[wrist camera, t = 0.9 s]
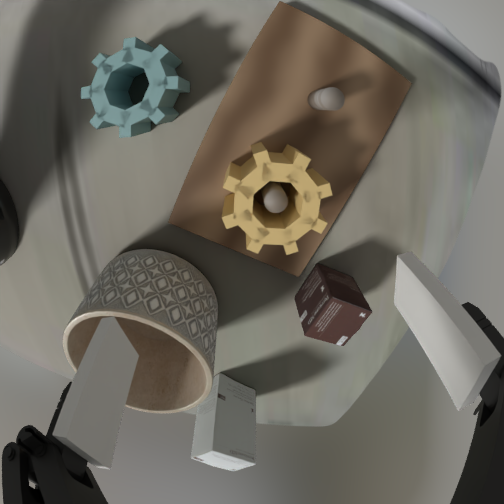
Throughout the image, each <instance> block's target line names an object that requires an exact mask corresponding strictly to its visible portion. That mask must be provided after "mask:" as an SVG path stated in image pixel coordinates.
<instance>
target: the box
mask: <svg viewBox="0 0 504 504" xmlns="http://www.w3.org/2000/svg"><path fill="white" fill-rule="evenodd" d="M295 302H296V306H297V309H298V313H299V317H300V320H301V324H302V328H303V331H304V335H305V336H307V337H311V338H314V339H318V340H322V341H325V342H329V343H333V344H336V345H341V346H344V345H345V344H346V343H347V342H348V341H349V339H350V338H351V337H352V336H353V335H354V334H355V333H356V332H357V331H358V330H359V329H360V327H361V326H362V324H363V323H364V321H365V320H366V319H367V318H368V317H369V315H370V314H371V313H372V310H371V309H370V307H369V304H368V303H367V301H366V299H365V298H364V296H363V294H362V292H361V291H360V289H359V287H358V285H357V284H356V282H355V280H354V278H353V277H350V276H348V275H346V274H343V273H341V272H338V271H336V270H334V269H331V268H329V267H326V266H324V265H321V264H319V263H317V264H316V265H315V267H314V268H313V270H312V271H311V273H310V274H309V276H308V277H307V279H306V280H305V282H304V283H303V285H302V286H301V288H300V289H299V291H298V293H297V294H296V296H295Z"/></svg>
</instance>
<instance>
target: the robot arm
mask: <svg viewBox="0 0 504 504" xmlns="http://www.w3.org/2000/svg"><path fill="white" fill-rule="evenodd" d="M17 243H18V221H17V215H16V211H15V208H14V204H13V202H12V199H11V197H10V194H9V192H8V191H7V189H6V187H5V186H4V184H3V183H2V181H1V180H0V265H2V264H3V263H5V262H6V261H7V260H8V259H9V258H10V257H11V256H12V255H13V254H14V252H15V250H16V247H17ZM394 304H395V306H396V307H397V309H398V310H399V312H400V313H401V315H402V316H403V318H404V319H405V321H406V322H407V324H408V326H409V327H410V329H411V330H412V332H413V333H414V335H415V336H416V338H417V339H418V341H419V343H420V345H421V346H422V348H423V349H424V351H425V353H426V354H427V356H428V358H429V359H430V361H431V363H432V365H433V366H434V368H435V370H436V371H437V373H438V375H439V377H440V378H441V380H442V382H443V384H444V386H445V387H446V389H447V391H448V393H449V395H450V397H451V398H452V400H453V402H454V404H455V406H456V408H457V410H458V411H459V410H461V409H463V408H465V407H466V406H468V405H470V404H472V403H474V401H475V399H476V398H477V396H478V395H479V394H480V396H481V397H482V401H481V402H480V404H479V405H478V407H477V408H476V409H475V412H474V415H476V414H477V412H478V411H479V413H478V418H477V423H476V427H475V431H474V435H473V439H472V443H471V446H470V450H469V453H468V456H467V460H466V463H465V466H464V469H463V472H462V475H461V478H460V480H459V483H458V485H457V488H456V491H455V493H454V496H453V498H452V500H451V503H450V504H504V338H503V337H502V336H501V334H500V333H499V332H498V331H497V329H496V328H495V327H494V326H492V324H491V322H490V321H489V320H488V319H486V316H485V315H484V314H483V313H482V312H481V310H480V309H479V308H478V307H476V306H474V305H473V304H471V303H469V302H467V303H465V304H462V305H461V304H460V303H459V302H458V301H457V300H456V299H455V297H454V296H453V295H452V294H451V293H450V292H449V291H448V289H447V288H446V287H445V286H444V285H443V284H442V283H441V282H440V281H439V280H438V279H437V277H436V276H435V275H434V274H433V273H432V272H431V271H430V270H429V269H428V268H427V267H426V266H425V265H424V264H423V263H422V262H421V261H420V260H419V259H418V258H417V257H416V256H415V255H414V254H413V253H412V252H407V253H404V254H400V255H397V268H396V284H395V296H394ZM138 358H139V355H138V353H137V352H136V350H135V349H134V347H133V346H132V344H131V343H130V341H129V340H128V338H127V336H126V335H125V333H124V332H123V330H122V328H121V327H120V325H119V324H118V322H117V320H116V319H115V317H114V316H113V317H107V318H102V319H101V321H100V323H99V325H98V327H97V329H96V331H95V333H94V335H93V337H92V339H91V341H90V343H89V346H88V348H87V350H86V352H85V354H84V356H83V359H82V361H81V363H80V365H79V368H78V370H77V372H76V375H75V377H74V379H73V382H70V383H69V384H68V385H67V387H66V388H65V389H64V391H63V393H62V395H61V398H60V402H59V403H58V406H57V409H56V411H55V413H54V416H53V419H52V421H51V424H50V427H49V429H48V432H47V435H46V436H44V435H43V434H42V433H41V432H40V431H38V430H37V429H36V428H35V427H33V426H31V425H28V426H25V427H23V428H22V429H21V430H20V432H19V434H18V436H17V439H16V443H15V442H11V443H8V444H7V445H6V446H5V448H4V450H3V454H2V487H3V502H4V504H108V502H107V501H106V499H105V497H104V495H103V494H102V492H101V490H100V488H99V486H98V484H97V482H96V480H95V478H94V476H93V474H92V472H91V470H90V469H89V467H87V462H89V463H91V464H93V465H94V466H95V467H99V468H104V469H111V465H112V460H113V455H114V450H115V446H116V441H117V437H118V433H119V428H120V424H121V420H122V416H123V412H124V408H125V404H126V400H127V397H128V393H129V389H130V385H131V382H132V378H133V375H134V371H135V368H136V364H137V361H138ZM29 481H31V482H33V483H34V484H35V486H36V487H35V489H34V488H32V487H30V486H29Z"/></svg>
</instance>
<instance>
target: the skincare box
mask: <svg viewBox="0 0 504 504" xmlns="http://www.w3.org/2000/svg"><path fill="white" fill-rule="evenodd" d="M191 458H192V459H195V460H198V461H200V462H204V463H207V464H209V465H211V466H214V467H220V468H223V469H227V470H231V471H235V470H239V469H242V468H245V467H249V466H252V465H255V464H256V391H255V390H254V389H252V388H249V387H247V386H245V385H243V384H240V383H238V382H236V381H234V380H232V379H231V378H229V377H227V376H225V375H224V374H222V373H219V374H218V375H216V376H215V377H213V385H212V389H211V392H210V393H209V395H208V397H207V398H206V399H205V400H204V401H203V402H202V403H200V404H199V405H198V409H197V416H196V423H195V431H194V439H193V446H192V453H191Z"/></svg>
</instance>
